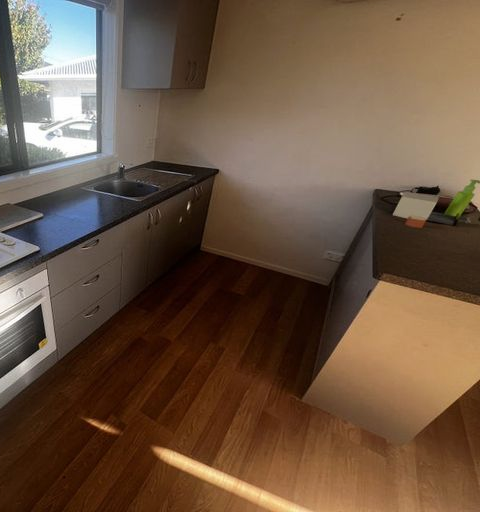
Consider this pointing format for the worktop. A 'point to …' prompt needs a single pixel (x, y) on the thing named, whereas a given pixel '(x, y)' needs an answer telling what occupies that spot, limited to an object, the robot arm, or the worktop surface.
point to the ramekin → (415, 221)
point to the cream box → (415, 205)
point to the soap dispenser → (461, 200)
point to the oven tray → (447, 218)
